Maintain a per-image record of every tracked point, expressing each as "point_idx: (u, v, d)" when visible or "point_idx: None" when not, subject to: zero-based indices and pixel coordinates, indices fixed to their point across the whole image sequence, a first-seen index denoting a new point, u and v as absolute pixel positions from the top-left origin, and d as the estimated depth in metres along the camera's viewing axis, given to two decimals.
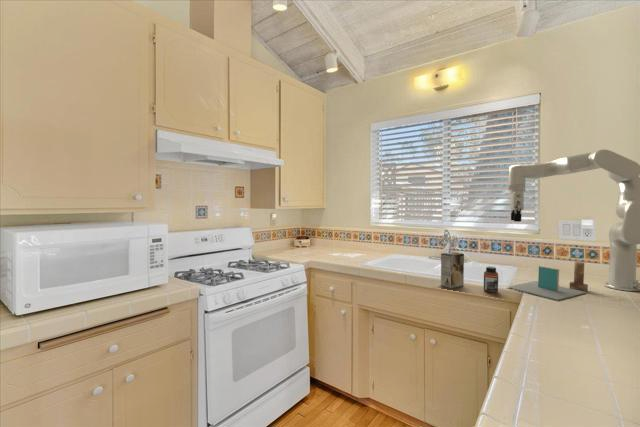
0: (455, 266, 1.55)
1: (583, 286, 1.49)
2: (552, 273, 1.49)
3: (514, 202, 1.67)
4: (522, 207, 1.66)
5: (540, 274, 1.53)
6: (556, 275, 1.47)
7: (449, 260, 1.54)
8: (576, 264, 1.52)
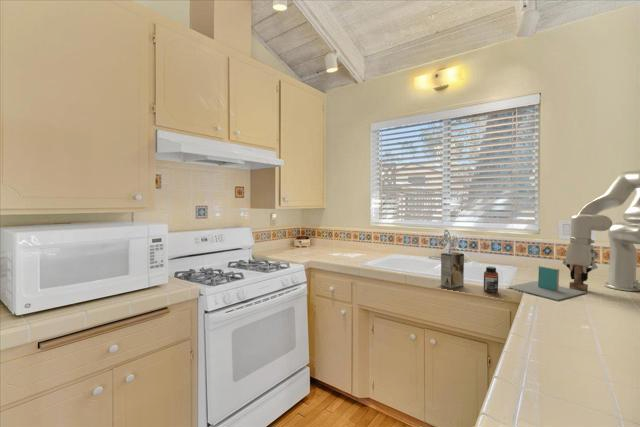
0: (455, 266, 1.55)
1: (583, 286, 1.49)
2: (552, 273, 1.49)
3: (590, 258, 1.47)
4: None
5: (540, 274, 1.53)
6: (556, 275, 1.47)
7: (449, 260, 1.54)
8: None
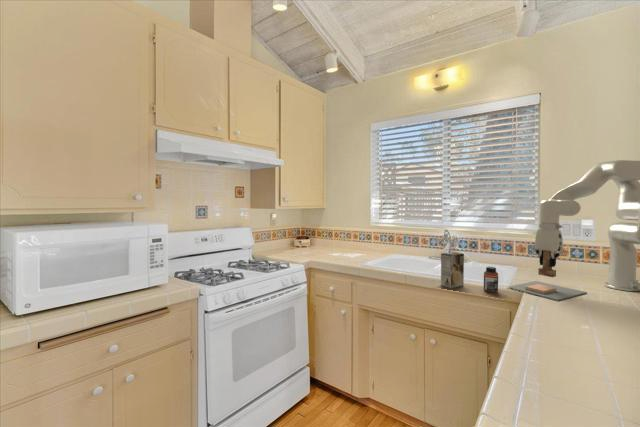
0: (455, 266, 1.55)
1: (551, 272, 1.47)
2: None
3: (557, 243, 1.45)
4: None
5: None
6: (546, 293, 1.44)
7: (449, 260, 1.54)
8: (544, 250, 1.50)
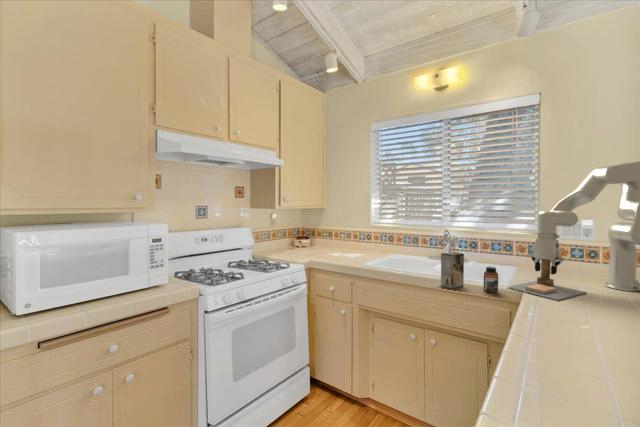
0: (455, 266, 1.55)
1: (549, 281, 1.56)
2: None
3: (555, 252, 1.53)
4: None
5: None
6: (546, 293, 1.44)
7: (449, 260, 1.54)
8: (542, 260, 1.58)
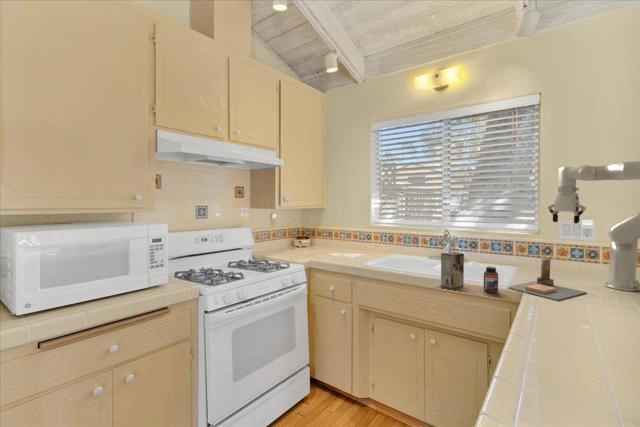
0: (455, 266, 1.55)
1: (549, 281, 1.56)
2: None
3: (575, 204, 1.65)
4: (578, 209, 1.67)
5: None
6: (546, 293, 1.44)
7: (449, 260, 1.54)
8: (542, 260, 1.58)
